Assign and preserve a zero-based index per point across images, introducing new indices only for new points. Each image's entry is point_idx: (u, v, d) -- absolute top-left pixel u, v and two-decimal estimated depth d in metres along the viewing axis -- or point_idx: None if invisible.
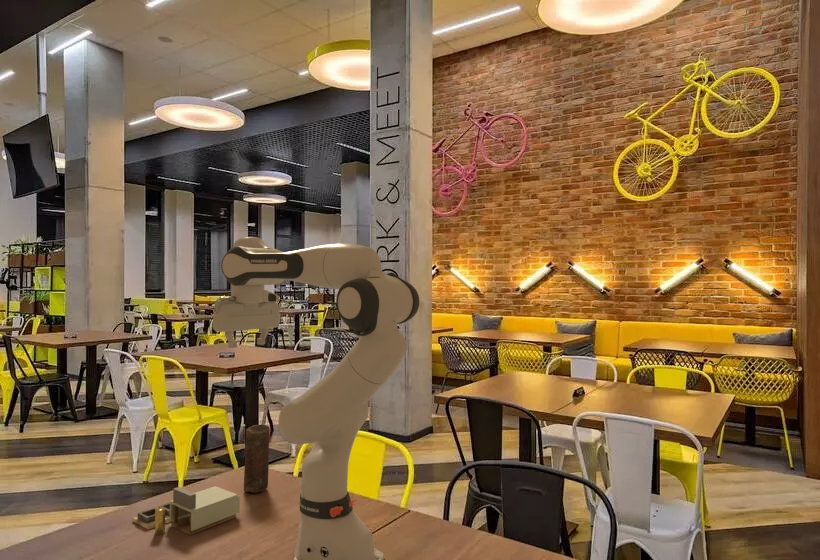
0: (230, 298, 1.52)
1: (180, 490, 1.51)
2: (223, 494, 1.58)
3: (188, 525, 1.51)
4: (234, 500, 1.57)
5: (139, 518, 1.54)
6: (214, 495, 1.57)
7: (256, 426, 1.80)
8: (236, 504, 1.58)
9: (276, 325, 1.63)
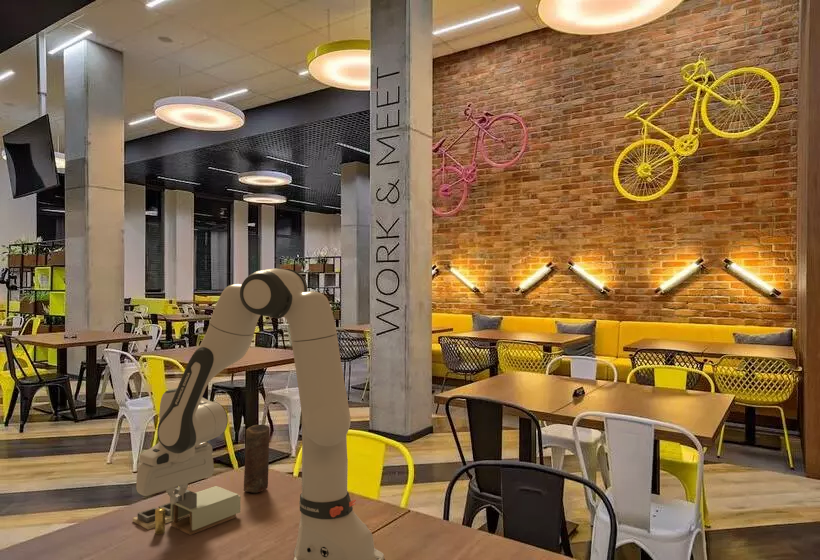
0: None
1: None
2: (224, 494, 1.58)
3: (188, 525, 1.51)
4: (235, 500, 1.57)
5: (139, 518, 1.54)
6: (215, 495, 1.57)
7: (256, 426, 1.80)
8: (237, 504, 1.58)
9: None
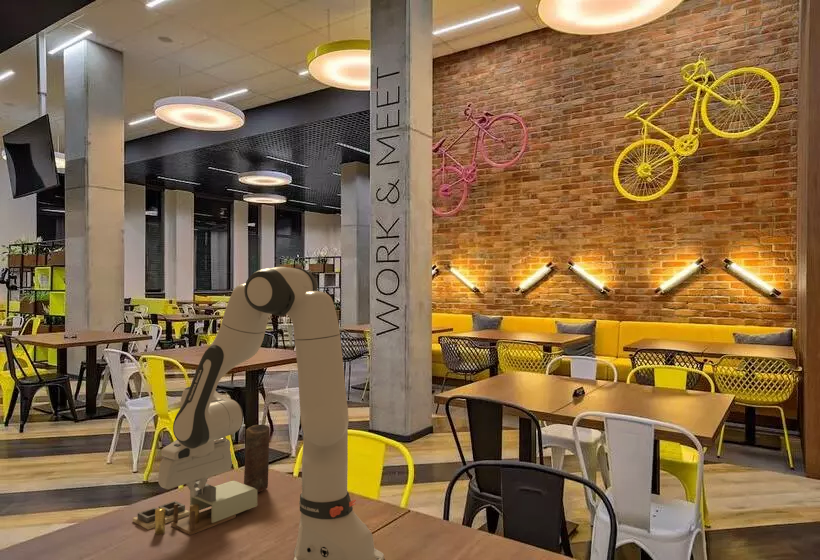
0: None
1: None
2: (241, 488, 1.63)
3: (188, 525, 1.51)
4: (252, 494, 1.62)
5: (139, 518, 1.54)
6: (233, 489, 1.62)
7: (256, 426, 1.80)
8: (254, 498, 1.63)
9: None
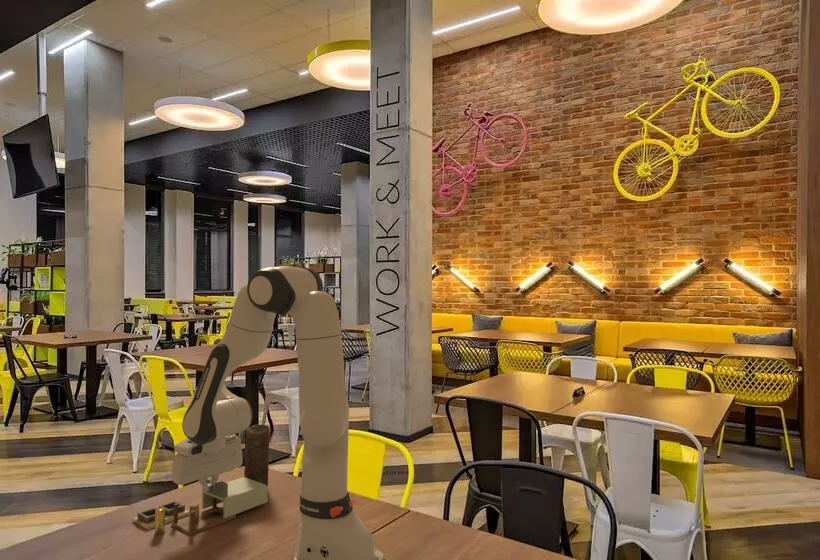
0: None
1: None
2: (252, 484, 1.66)
3: (188, 525, 1.51)
4: (263, 490, 1.65)
5: (139, 518, 1.54)
6: (243, 485, 1.65)
7: (256, 426, 1.80)
8: (265, 494, 1.66)
9: None
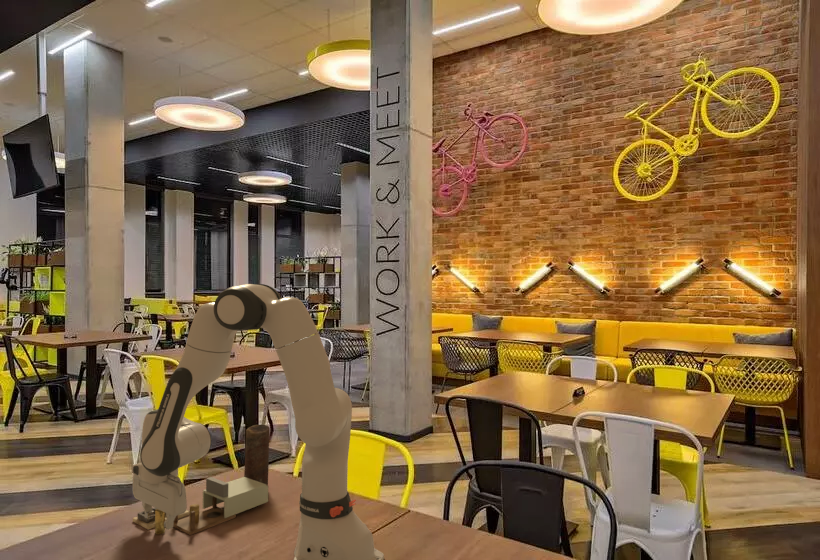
0: None
1: (213, 480, 1.59)
2: (253, 484, 1.66)
3: (188, 525, 1.51)
4: (263, 490, 1.65)
5: (139, 518, 1.54)
6: (244, 485, 1.65)
7: (256, 426, 1.80)
8: (265, 494, 1.66)
9: None
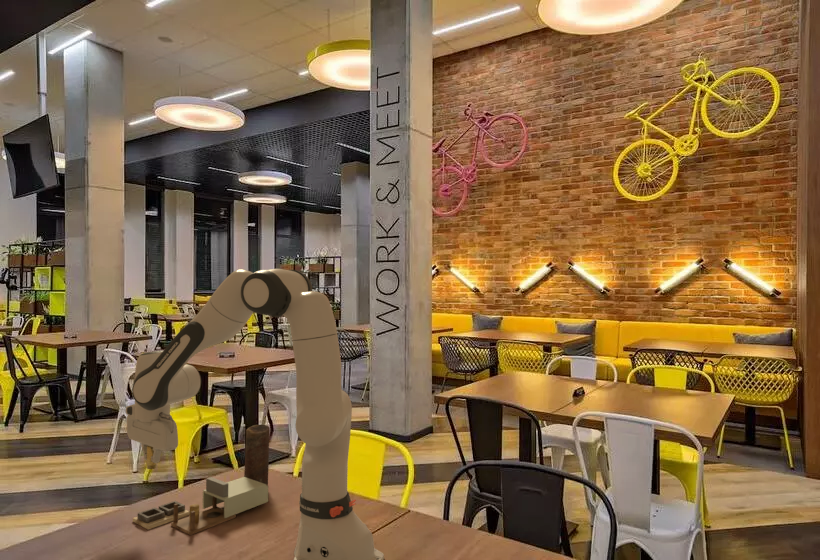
0: None
1: (213, 480, 1.59)
2: (253, 484, 1.66)
3: (188, 525, 1.51)
4: (263, 490, 1.65)
5: (139, 518, 1.54)
6: (244, 485, 1.65)
7: (256, 426, 1.80)
8: (265, 494, 1.66)
9: None
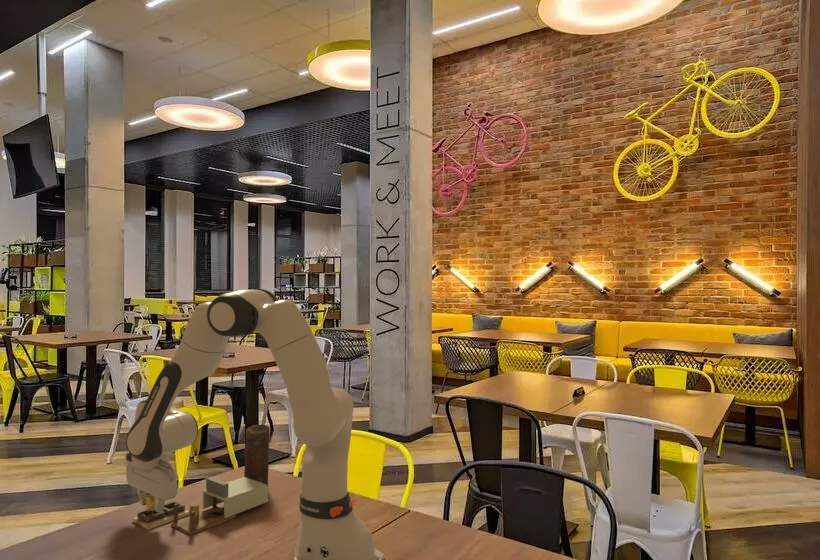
0: None
1: (213, 480, 1.59)
2: (253, 484, 1.66)
3: (188, 525, 1.51)
4: (263, 490, 1.65)
5: (139, 518, 1.54)
6: (244, 485, 1.65)
7: (256, 426, 1.80)
8: (265, 494, 1.66)
9: None
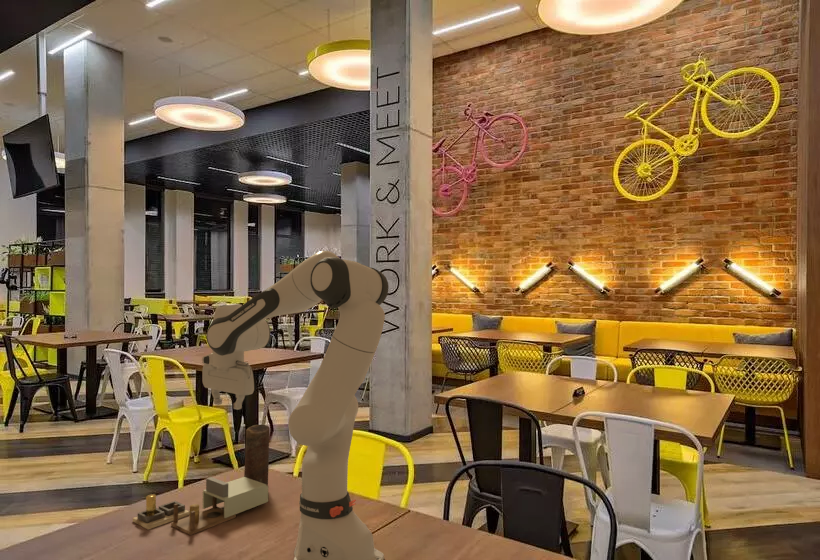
0: None
1: (213, 480, 1.59)
2: (253, 484, 1.66)
3: (188, 525, 1.51)
4: (263, 490, 1.65)
5: (139, 518, 1.54)
6: (244, 485, 1.65)
7: (256, 426, 1.80)
8: (265, 494, 1.66)
9: None
